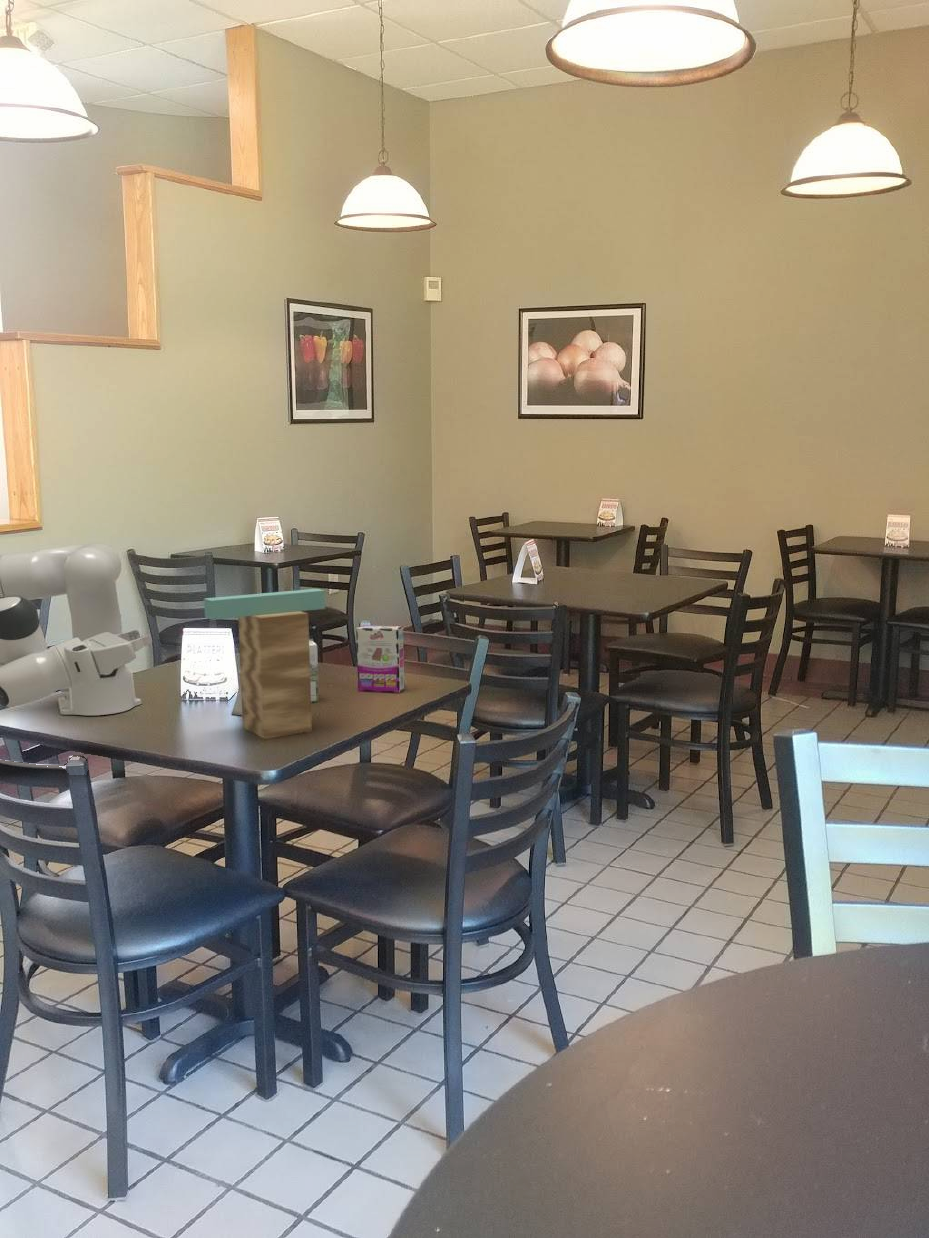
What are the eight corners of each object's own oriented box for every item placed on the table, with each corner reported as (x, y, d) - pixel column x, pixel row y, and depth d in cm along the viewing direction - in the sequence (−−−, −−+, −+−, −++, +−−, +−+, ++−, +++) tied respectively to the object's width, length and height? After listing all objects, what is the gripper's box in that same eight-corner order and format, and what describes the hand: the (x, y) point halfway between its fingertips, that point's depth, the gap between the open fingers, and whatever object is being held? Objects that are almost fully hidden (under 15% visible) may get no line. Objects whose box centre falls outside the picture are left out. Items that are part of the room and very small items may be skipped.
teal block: (204, 617, 229) (204, 598, 229) (317, 606, 244) (316, 588, 243) (211, 619, 226) (211, 600, 225) (325, 608, 240) (324, 590, 240)
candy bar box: (405, 689, 278) (404, 625, 275) (399, 693, 273) (398, 629, 270) (363, 687, 280) (362, 624, 278) (357, 691, 276) (355, 627, 273)
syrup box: (311, 697, 270) (309, 639, 268) (319, 702, 265) (317, 643, 262) (289, 699, 267) (287, 641, 265) (296, 704, 262) (294, 645, 260)
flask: (255, 717, 251) (254, 674, 249) (226, 715, 252) (224, 673, 250) (267, 709, 258) (266, 668, 256) (238, 708, 259) (237, 667, 257)
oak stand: (242, 727, 242) (238, 611, 237) (288, 719, 248) (284, 606, 244) (264, 739, 232) (260, 618, 228) (311, 731, 238) (308, 613, 234)
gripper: (72, 668, 224) (136, 644, 230) (93, 683, 206) (163, 656, 212) (61, 640, 222) (126, 616, 228) (82, 652, 204) (152, 626, 211)
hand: (144, 635), depth 220 cm, fingers open, 8 cm apart
